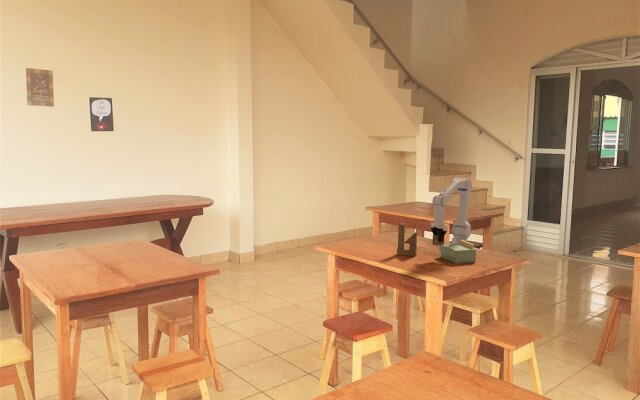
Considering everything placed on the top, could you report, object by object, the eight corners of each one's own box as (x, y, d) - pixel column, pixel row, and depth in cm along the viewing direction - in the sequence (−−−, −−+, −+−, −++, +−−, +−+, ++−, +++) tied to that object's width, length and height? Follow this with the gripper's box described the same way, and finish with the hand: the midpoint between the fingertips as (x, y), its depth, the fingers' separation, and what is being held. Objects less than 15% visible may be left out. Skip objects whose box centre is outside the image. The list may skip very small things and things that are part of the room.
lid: (439, 251, 300) (439, 240, 299) (459, 249, 304) (460, 239, 303) (454, 257, 285) (454, 246, 284) (475, 256, 289) (476, 244, 288)
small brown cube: (432, 244, 294) (432, 235, 293) (440, 243, 295) (440, 234, 295) (436, 245, 290) (436, 236, 290) (444, 245, 292) (444, 236, 291)
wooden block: (415, 256, 301) (416, 225, 298) (396, 255, 305) (397, 224, 302) (416, 255, 304) (417, 224, 302) (398, 253, 308) (398, 223, 306)
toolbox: (440, 256, 301) (441, 246, 300) (459, 255, 304) (459, 245, 304) (456, 263, 286) (456, 252, 285) (475, 262, 289) (475, 251, 288)
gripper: (426, 215, 297) (425, 239, 298) (439, 219, 283) (438, 244, 285) (437, 214, 299) (436, 238, 300) (451, 219, 285) (450, 243, 287)
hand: (438, 241), depth 293 cm, fingers closed on small brown cube, 4 cm apart
